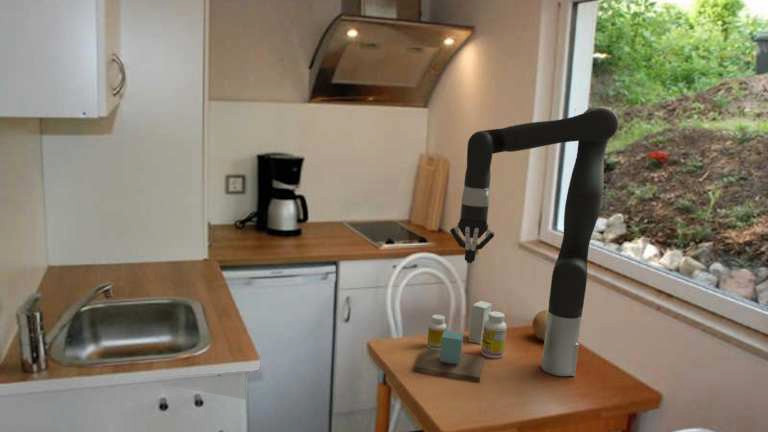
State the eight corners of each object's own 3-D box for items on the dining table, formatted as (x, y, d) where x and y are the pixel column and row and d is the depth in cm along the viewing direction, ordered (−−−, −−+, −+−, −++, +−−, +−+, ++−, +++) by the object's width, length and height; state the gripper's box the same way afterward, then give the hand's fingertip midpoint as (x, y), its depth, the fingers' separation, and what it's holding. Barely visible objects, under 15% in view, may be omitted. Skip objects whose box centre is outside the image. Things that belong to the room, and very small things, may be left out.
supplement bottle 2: (477, 350, 196) (481, 310, 194) (497, 349, 198) (501, 309, 196) (486, 359, 190) (491, 318, 187) (507, 358, 192) (511, 317, 189)
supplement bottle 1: (443, 351, 194) (446, 320, 192) (425, 349, 194) (428, 318, 193) (445, 345, 199) (448, 315, 197) (428, 342, 200) (430, 312, 198)
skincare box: (480, 344, 201) (484, 308, 199) (468, 341, 203) (471, 304, 201) (488, 339, 206) (492, 303, 204) (476, 335, 208) (479, 300, 206)
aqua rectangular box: (461, 356, 184) (463, 333, 183) (459, 364, 179) (461, 339, 178) (442, 353, 186) (444, 330, 184) (439, 360, 180) (442, 336, 179)
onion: (545, 347, 202) (549, 317, 200) (524, 336, 211) (527, 307, 209) (568, 343, 207) (571, 314, 205) (546, 332, 215) (550, 304, 213)
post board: (483, 362, 188) (484, 357, 187) (479, 382, 174) (479, 377, 174) (422, 352, 191) (423, 348, 191) (414, 371, 178) (414, 366, 178)
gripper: (499, 203, 183) (493, 262, 187) (453, 198, 186) (448, 256, 190) (498, 207, 176) (491, 268, 180) (450, 202, 179) (444, 262, 182)
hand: (469, 262), depth 185 cm, fingers closed
